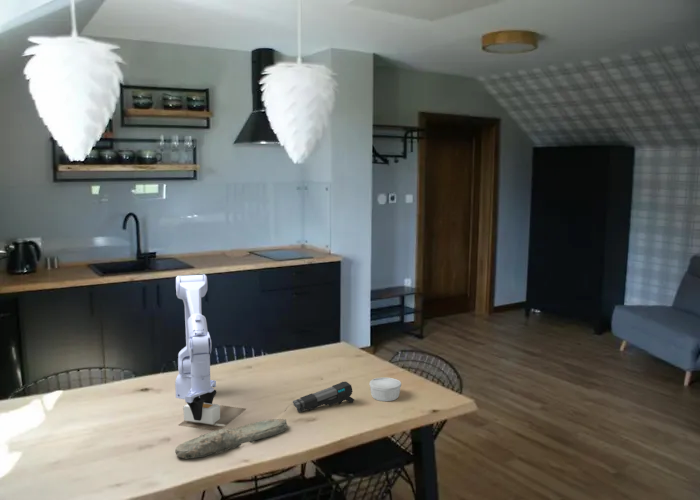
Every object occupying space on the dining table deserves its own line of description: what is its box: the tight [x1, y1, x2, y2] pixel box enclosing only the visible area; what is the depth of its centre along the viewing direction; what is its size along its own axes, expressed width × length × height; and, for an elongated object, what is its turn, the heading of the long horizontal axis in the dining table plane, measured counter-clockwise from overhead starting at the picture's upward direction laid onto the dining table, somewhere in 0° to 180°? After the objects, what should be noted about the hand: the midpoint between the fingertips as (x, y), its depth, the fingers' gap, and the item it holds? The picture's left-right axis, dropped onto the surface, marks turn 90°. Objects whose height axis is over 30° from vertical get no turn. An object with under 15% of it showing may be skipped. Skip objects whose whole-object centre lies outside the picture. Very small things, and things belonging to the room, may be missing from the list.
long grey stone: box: [175, 418, 288, 460], centre depth 174 cm, size 35×5×10 cm
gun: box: [292, 381, 355, 413], centre depth 201 cm, size 4×20×10 cm, turn 115°
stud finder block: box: [182, 403, 221, 424], centre depth 185 cm, size 10×4×5 cm, turn 72°
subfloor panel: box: [178, 404, 247, 432], centre depth 190 cm, size 14×18×1 cm
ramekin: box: [368, 377, 402, 402], centre depth 210 cm, size 11×11×5 cm
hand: (201, 416), depth 185 cm, fingers closed on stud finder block, 4 cm apart
